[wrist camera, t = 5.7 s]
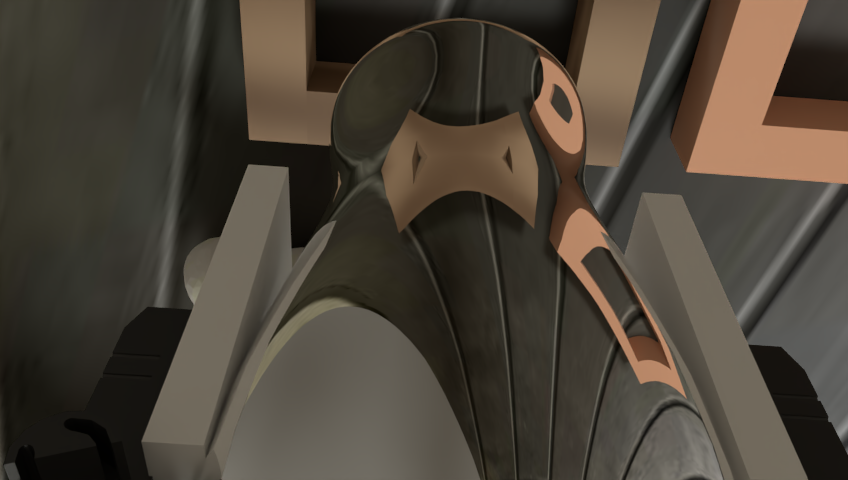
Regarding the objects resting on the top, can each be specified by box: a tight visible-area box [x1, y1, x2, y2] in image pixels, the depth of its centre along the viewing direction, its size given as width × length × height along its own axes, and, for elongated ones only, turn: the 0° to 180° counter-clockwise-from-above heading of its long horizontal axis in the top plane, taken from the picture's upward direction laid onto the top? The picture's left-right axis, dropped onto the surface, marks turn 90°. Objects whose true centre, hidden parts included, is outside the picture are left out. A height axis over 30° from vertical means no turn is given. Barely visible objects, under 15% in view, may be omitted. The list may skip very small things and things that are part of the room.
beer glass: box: [198, 18, 735, 480], centre depth 13 cm, size 7×7×15 cm
